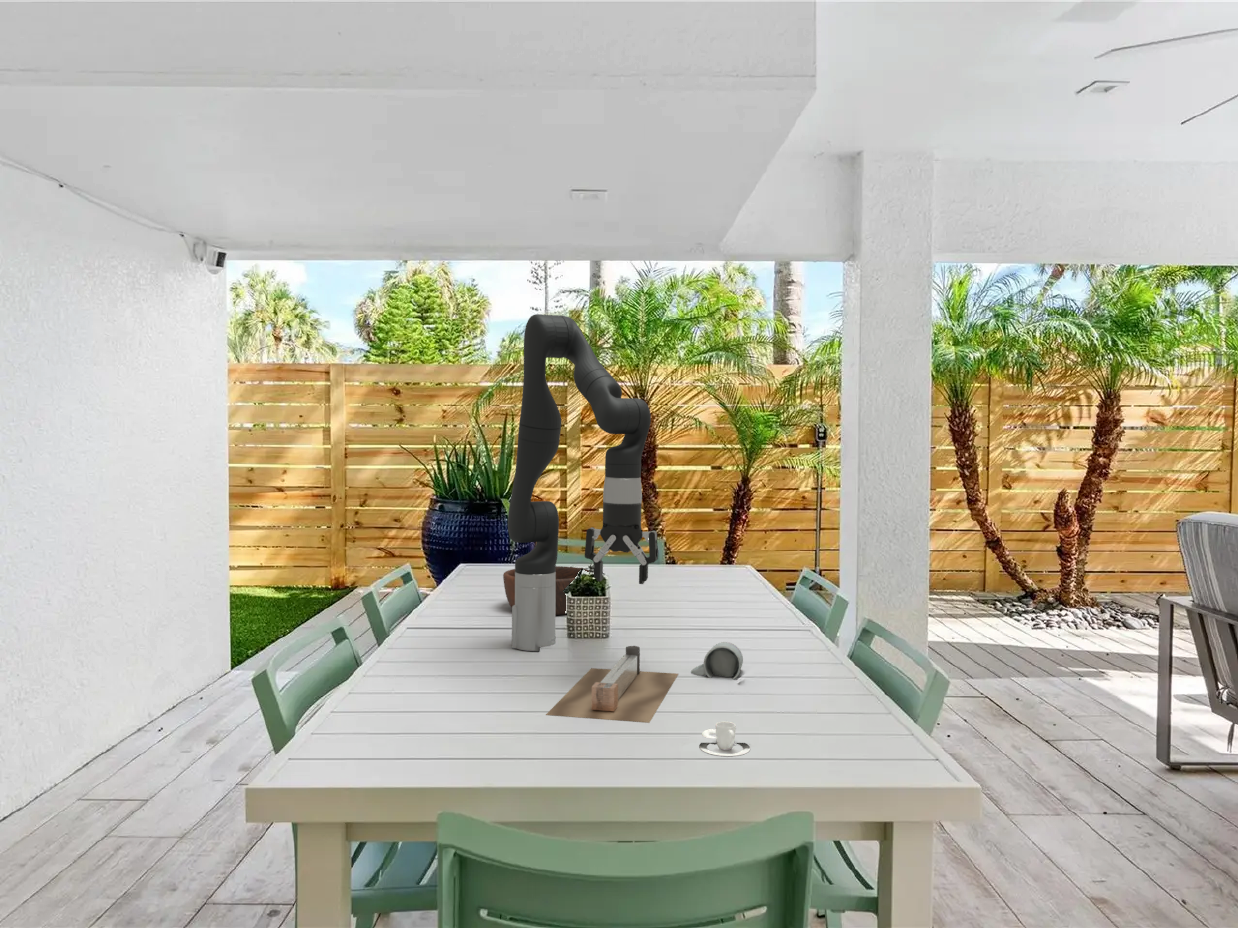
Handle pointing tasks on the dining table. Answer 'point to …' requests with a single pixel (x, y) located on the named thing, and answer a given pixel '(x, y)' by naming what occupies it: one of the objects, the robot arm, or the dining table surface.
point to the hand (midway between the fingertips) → (620, 582)
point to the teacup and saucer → (723, 739)
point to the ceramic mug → (721, 661)
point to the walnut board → (632, 704)
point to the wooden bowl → (562, 581)
